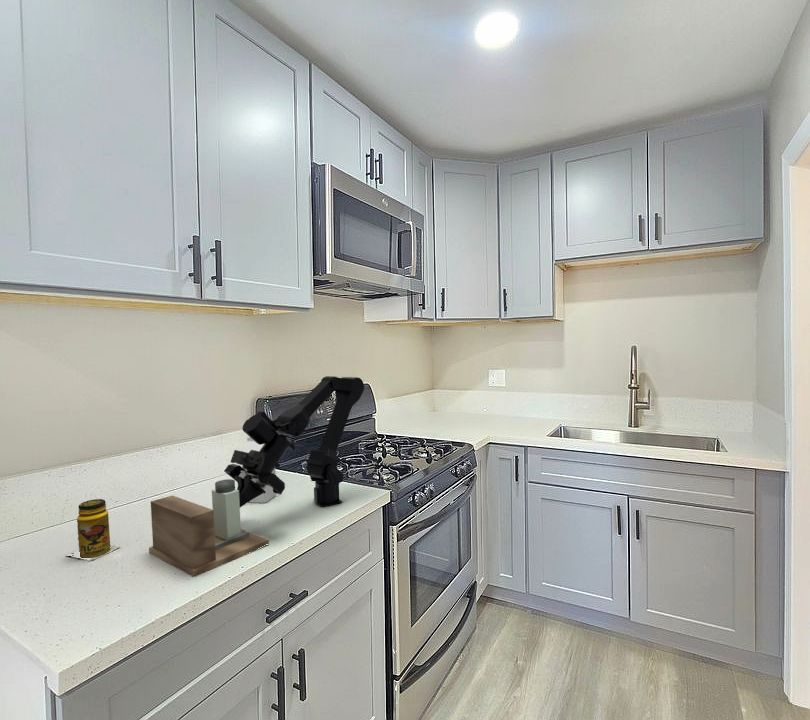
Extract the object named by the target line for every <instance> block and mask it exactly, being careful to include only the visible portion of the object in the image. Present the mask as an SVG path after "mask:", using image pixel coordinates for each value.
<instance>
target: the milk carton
mask: <svg viewBox="0 0 810 720" xmlns="http://www.w3.org/2000/svg"><path fill="white" fill-rule="evenodd" d="M246 438H247V439H246V443H245V445H244V447H243V450H242V451H243V452H247V453H249V452H250V451H251V450H255V451H260V450H261V448H262V447H263V445H264V444H261V445H259V444H257V443H256V442H255V441H254V440H253V439H252V438H250V437H249V436H248V437H246ZM242 466H243V465H241V467H242ZM242 468H243V467H242ZM245 470H246V469H245ZM246 471H247V470H246ZM276 471H277V470H276V468H274V470H273V471H272V473H274V474H275V475H276V476H277V473H276ZM265 491H266V493H265V494H264V493H263V494H261V495H259V496H257V497H256V498H254V499H252V500H251V501H249V502H248V503H259V504H266V503H268V502H269V501H270V500H272V499H273V498H274V497H276V496H277V495H278V494H276V493H274V492H273V488H272V487H271V486H268V485H267V487H266V488H265Z"/></svg>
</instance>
